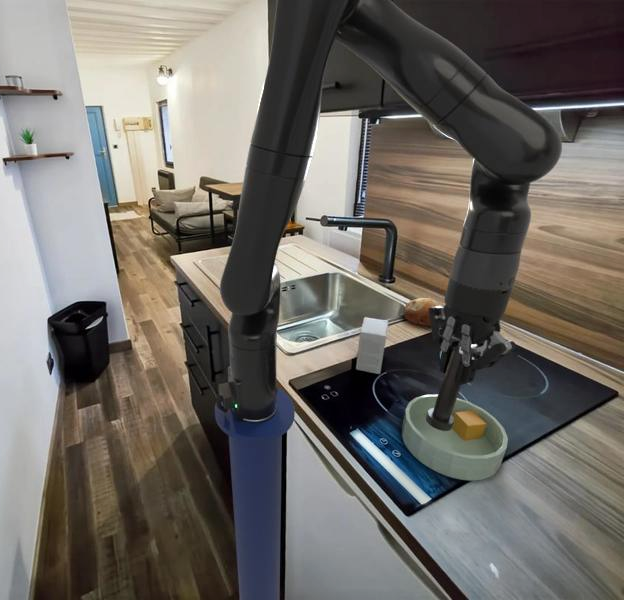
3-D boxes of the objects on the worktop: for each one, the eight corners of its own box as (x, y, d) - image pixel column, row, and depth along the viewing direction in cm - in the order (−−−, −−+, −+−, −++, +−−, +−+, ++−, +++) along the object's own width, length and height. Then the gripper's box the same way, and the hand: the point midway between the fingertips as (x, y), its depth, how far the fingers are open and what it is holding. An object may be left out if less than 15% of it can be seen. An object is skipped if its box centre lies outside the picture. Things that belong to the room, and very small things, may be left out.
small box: (359, 352, 93) (364, 316, 89) (383, 357, 91) (388, 320, 87) (355, 369, 87) (359, 331, 82) (380, 375, 85) (386, 336, 80)
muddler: (439, 433, 60) (463, 359, 54) (420, 417, 64) (441, 345, 58) (457, 428, 61) (483, 355, 55) (438, 412, 65) (461, 342, 59)
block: (463, 440, 65) (468, 426, 64) (450, 426, 69) (454, 412, 67) (482, 438, 66) (486, 423, 64) (468, 424, 69) (472, 410, 67)
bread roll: (428, 322, 112) (425, 296, 112) (453, 323, 102) (450, 295, 102) (399, 326, 111) (396, 300, 111) (421, 328, 101) (418, 299, 101)
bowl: (446, 491, 57) (453, 469, 55) (384, 424, 71) (387, 404, 69) (522, 466, 61) (531, 444, 58) (449, 407, 74) (454, 387, 72)
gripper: (422, 265, 57) (404, 358, 64) (506, 301, 44) (472, 410, 52) (461, 259, 58) (439, 350, 66) (553, 291, 46) (514, 399, 53)
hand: (454, 376), depth 59 cm, fingers closed on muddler, 2 cm apart
